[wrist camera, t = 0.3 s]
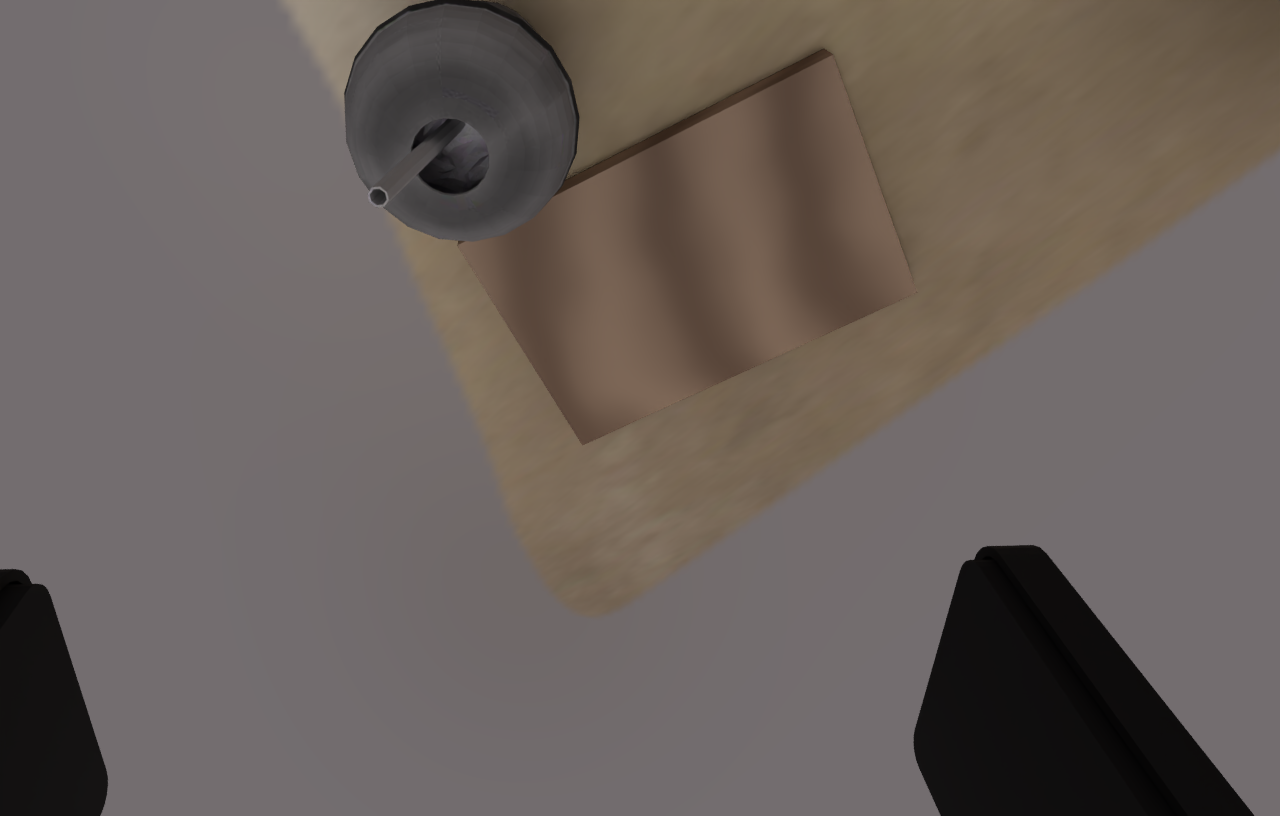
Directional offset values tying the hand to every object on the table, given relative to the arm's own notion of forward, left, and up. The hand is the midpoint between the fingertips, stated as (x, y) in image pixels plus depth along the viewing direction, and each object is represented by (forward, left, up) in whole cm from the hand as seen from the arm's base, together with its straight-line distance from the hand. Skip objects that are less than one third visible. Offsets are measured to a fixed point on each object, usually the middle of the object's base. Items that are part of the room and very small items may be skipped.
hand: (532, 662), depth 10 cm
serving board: (-2, +10, -34) cm, 36 cm away
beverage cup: (+2, -2, -34) cm, 34 cm away
